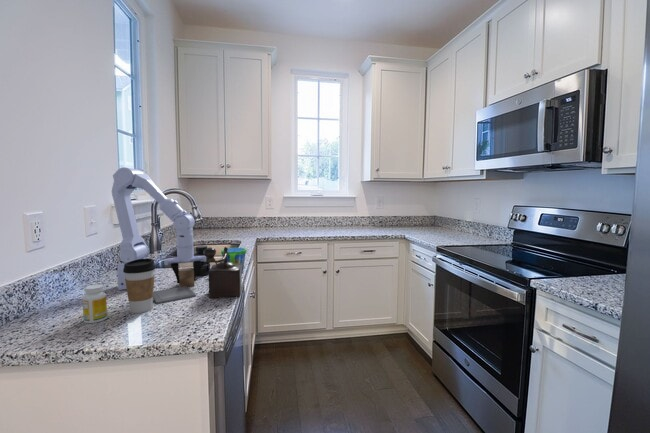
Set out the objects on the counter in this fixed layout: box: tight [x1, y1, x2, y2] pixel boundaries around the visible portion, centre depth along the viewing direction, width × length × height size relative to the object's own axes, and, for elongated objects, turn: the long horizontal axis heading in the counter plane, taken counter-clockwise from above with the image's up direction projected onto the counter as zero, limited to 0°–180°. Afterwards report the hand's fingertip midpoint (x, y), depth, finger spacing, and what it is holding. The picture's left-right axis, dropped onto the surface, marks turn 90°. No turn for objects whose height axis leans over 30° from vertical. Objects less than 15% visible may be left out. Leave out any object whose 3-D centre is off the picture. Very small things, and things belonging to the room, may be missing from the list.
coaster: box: [153, 286, 197, 305], centre depth 110 cm, size 12×12×1 cm
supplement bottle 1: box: [82, 284, 108, 324], centre depth 89 cm, size 5×5×10 cm
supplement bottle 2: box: [194, 245, 211, 277], centre depth 136 cm, size 7×7×12 cm
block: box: [178, 267, 195, 288], centre depth 121 cm, size 5×5×6 cm
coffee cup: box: [123, 257, 156, 314], centre depth 96 cm, size 8×8×15 cm
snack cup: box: [220, 247, 247, 273], centre depth 139 cm, size 16×11×10 cm
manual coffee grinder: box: [203, 246, 243, 299], centre depth 109 cm, size 16×11×18 cm
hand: (186, 281), depth 121 cm, fingers closed on block, 5 cm apart
